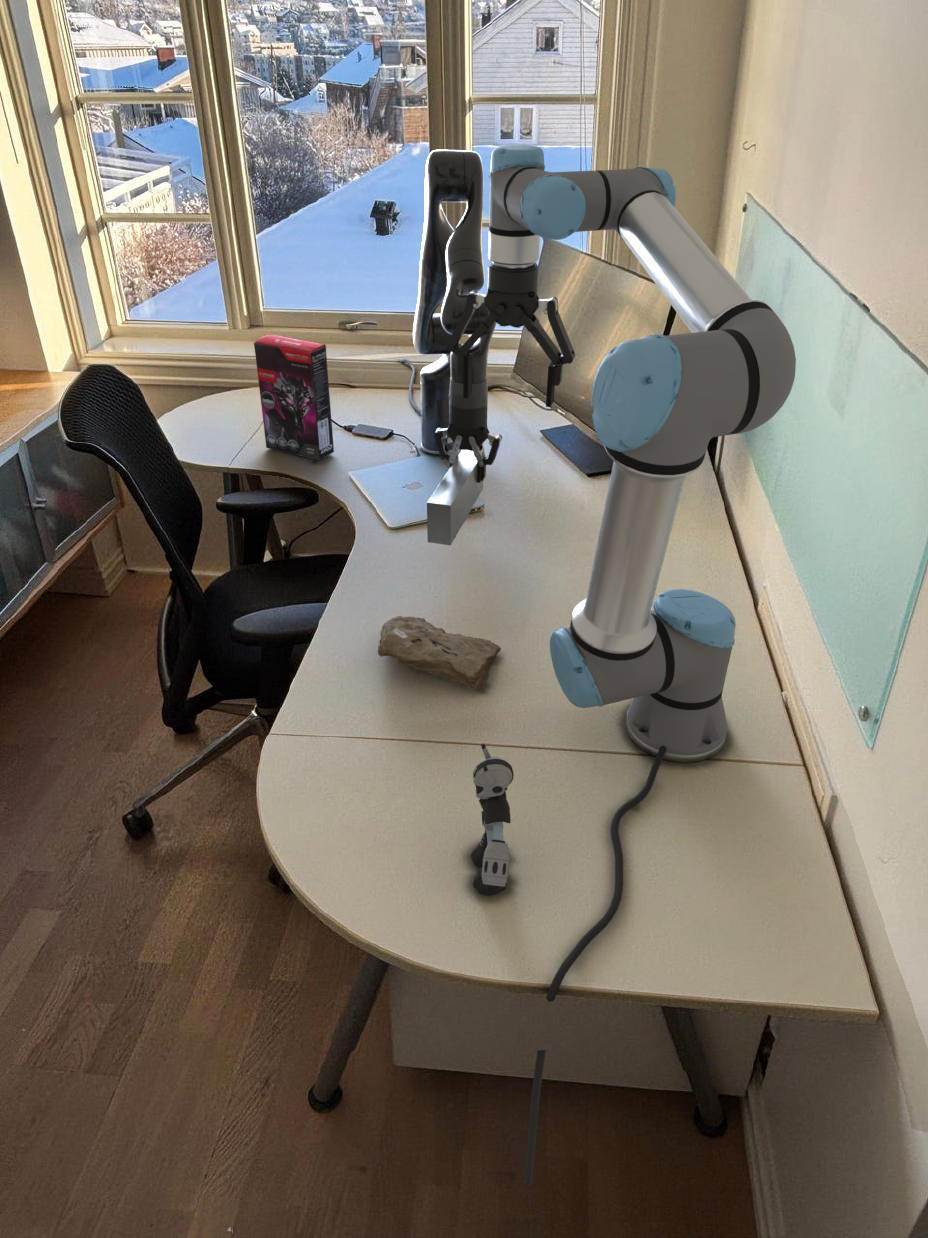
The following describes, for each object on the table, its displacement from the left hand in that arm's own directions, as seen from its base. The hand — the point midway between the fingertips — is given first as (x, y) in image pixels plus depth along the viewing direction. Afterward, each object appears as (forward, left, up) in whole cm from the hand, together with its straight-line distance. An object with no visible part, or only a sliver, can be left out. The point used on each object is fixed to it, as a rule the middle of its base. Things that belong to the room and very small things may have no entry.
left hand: (467, 479), depth 190 cm
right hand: (+31, +2, +28) cm, 42 cm away
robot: (+92, -11, -12) cm, 93 cm away
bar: (+8, -3, -4) cm, 9 cm away
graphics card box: (-47, -35, -12) cm, 60 cm away
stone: (+46, -13, -12) cm, 49 cm away
